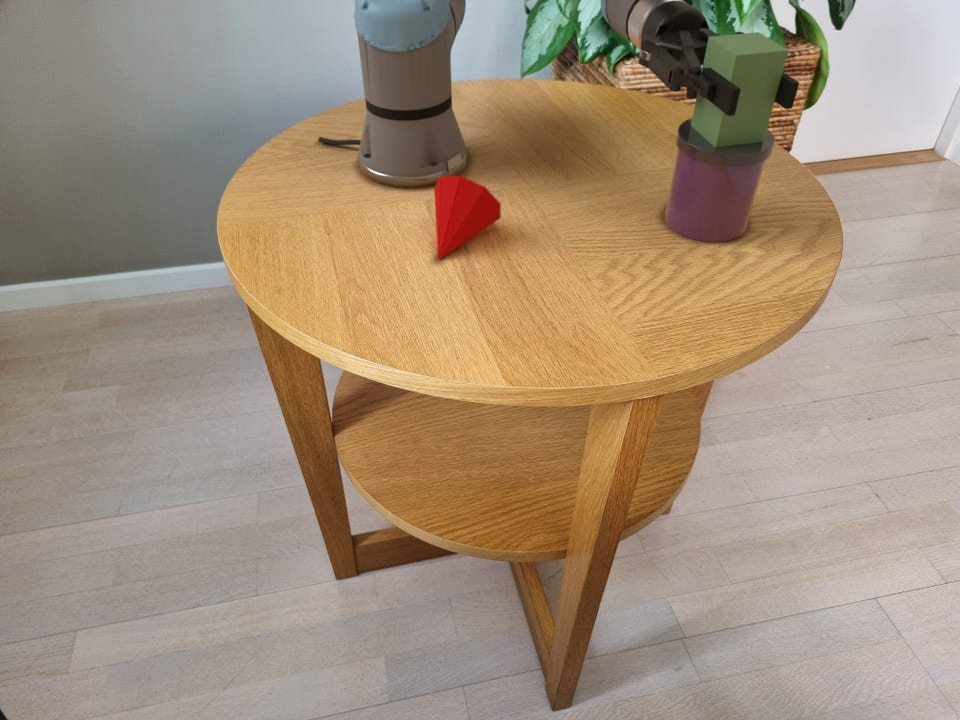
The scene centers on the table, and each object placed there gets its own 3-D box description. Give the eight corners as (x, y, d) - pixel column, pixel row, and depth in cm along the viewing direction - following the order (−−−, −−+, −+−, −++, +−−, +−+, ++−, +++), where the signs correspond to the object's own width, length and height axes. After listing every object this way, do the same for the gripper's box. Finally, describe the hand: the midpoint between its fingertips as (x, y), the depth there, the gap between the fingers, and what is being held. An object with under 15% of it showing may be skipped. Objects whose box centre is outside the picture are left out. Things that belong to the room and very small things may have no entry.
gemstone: (483, 265, 78) (516, 195, 82) (413, 228, 77) (449, 158, 80) (461, 290, 87) (492, 225, 90) (398, 256, 85) (432, 192, 88)
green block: (714, 148, 78) (736, 55, 71) (690, 126, 82) (708, 36, 75) (763, 142, 79) (789, 50, 72) (736, 120, 83) (758, 32, 76)
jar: (657, 236, 85) (674, 148, 78) (665, 194, 93) (681, 110, 85) (749, 249, 83) (776, 160, 75) (749, 205, 91) (774, 120, 83)
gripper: (729, 54, 94) (833, 124, 77) (595, 68, 90) (673, 144, 74) (742, -7, 88) (856, 53, 72) (601, 6, 85) (686, 71, 69)
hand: (763, 99), depth 73 cm, fingers closed on green block, 6 cm apart
